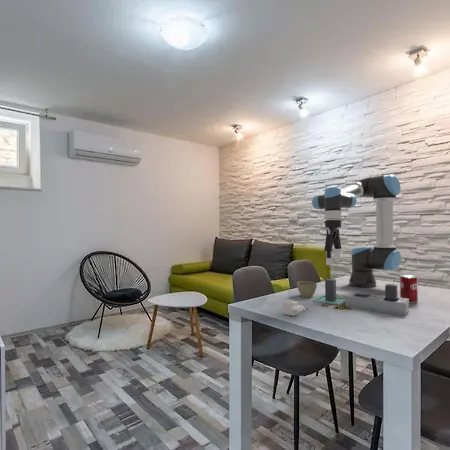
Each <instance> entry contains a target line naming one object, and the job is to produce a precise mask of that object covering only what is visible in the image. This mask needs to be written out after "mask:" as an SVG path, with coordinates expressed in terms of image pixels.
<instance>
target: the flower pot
mask: <svg viewBox="0 0 450 450" xmlns="http://www.w3.org/2000/svg"><path fill="white" fill-rule="evenodd" d="M296 285H297V289H298V293H299V294H300V296H301V297H303V298H312V297H313V296H314V294H315V293H316V291H317V287H318V286H317V285H318V283H317V282H313V281H297V282H296Z"/></svg>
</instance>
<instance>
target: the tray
mask: <svg viewBox="0 0 450 450" xmlns="http://www.w3.org/2000/svg"><path fill="white" fill-rule="evenodd" d="M312 301H313V302H314V303H315V302H317V303H322V304H323V303H325V304H331V305H339V306H341V305H342V304H345V297H341V296H336V300H335V301H326V300H325V294H322V295H320V296H318V297H316V298H314V299H312Z"/></svg>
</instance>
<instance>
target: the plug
mask: <svg viewBox="0 0 450 450" xmlns="http://www.w3.org/2000/svg"><path fill="white" fill-rule="evenodd" d="M324 289H325V291H324V293H325V294H324V295H325V300H326V301H335V300H336V297H337V279H336V278H326V279H325V280H324Z"/></svg>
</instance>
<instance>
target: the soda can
mask: <svg viewBox="0 0 450 450" xmlns="http://www.w3.org/2000/svg"><path fill="white" fill-rule="evenodd" d="M418 279H419V278H418V277H417V276H415V275H411V274H409V275H408V274H406V275H400V277H399V294H400V296H399V298H408V299H409V304H417V303H418V300H419V293H418V291H419V290H418V288H419V287H418V286H419V285H418V282H419V281H418Z"/></svg>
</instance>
